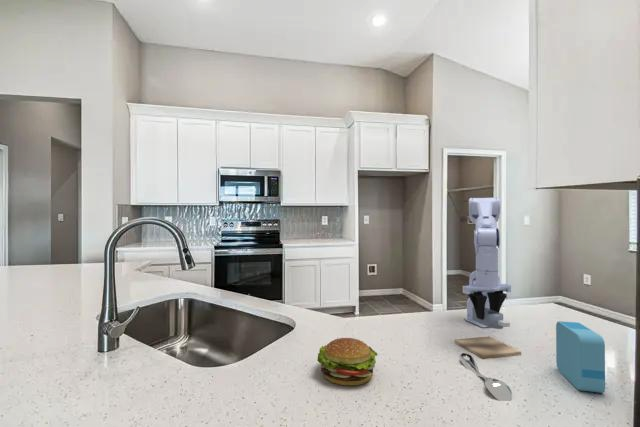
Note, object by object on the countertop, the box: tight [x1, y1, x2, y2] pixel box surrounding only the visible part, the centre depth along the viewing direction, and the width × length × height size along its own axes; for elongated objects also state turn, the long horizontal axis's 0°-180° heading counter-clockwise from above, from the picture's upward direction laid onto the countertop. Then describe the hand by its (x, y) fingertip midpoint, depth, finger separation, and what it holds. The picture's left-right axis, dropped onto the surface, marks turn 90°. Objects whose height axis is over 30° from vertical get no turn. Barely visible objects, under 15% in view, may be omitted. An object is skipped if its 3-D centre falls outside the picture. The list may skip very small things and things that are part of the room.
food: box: [316, 337, 378, 386], centre depth 79 cm, size 14×14×8 cm
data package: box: [555, 320, 606, 394], centre depth 75 cm, size 12×4×12 cm, turn 165°
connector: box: [472, 307, 511, 330], centre depth 93 cm, size 12×4×4 cm, turn 13°
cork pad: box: [453, 336, 522, 360], centre depth 94 cm, size 12×12×1 cm
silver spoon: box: [459, 352, 513, 402], centre depth 77 cm, size 20×4×5 cm
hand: (487, 318), depth 94 cm, fingers closed on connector, 4 cm apart
